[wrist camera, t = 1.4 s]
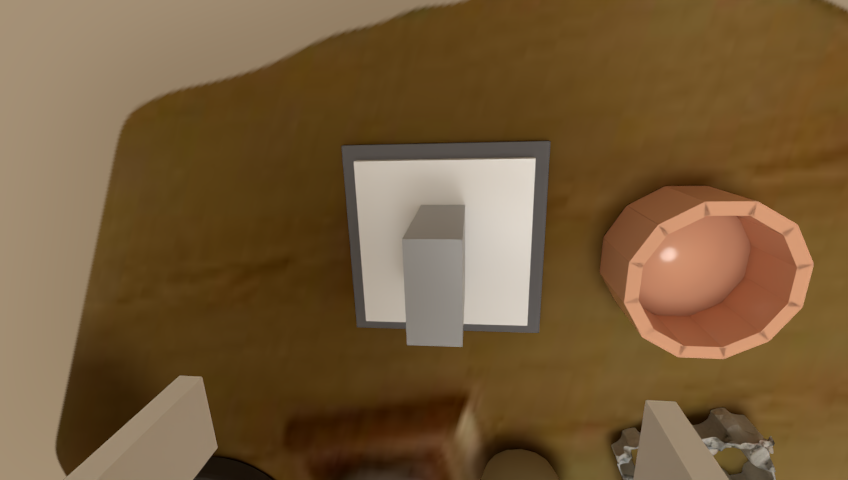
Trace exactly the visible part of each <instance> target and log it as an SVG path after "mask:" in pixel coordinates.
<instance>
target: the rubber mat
mask: <svg viewBox="0 0 848 480" xmlns="http://www.w3.org/2000/svg"><path fill="white" fill-rule="evenodd" d="M518 157H534V158H536V162H535V182H534V202H533V222H532V242H531V262H530V282H529V301H528V321H527V326H517V325H482V324H464V325H463V331H495V332H527V333H539V324H540V307H541V290H542V274H543V257H544V240H545V224H546V207H547V190H548V174H549V157H550V141H513V142H467V143H422V144H376V145H343V146H342V158H343V170H344V181H345V193H346V205H347V216H348V228H349V240H350V251H351V263H352V274H353V286H354V298H355V309H356V321H357V327H364V328H397V329H406V322H378V321H366V314H365V302H364V289H363V276H362V263H361V250H360V238H359V225H358V212H357V199H356V187H355V174H354V161H356V160H403V159H460V158H518Z"/></svg>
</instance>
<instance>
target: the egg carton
mask: <svg viewBox="0 0 848 480" xmlns="http://www.w3.org/2000/svg"><path fill="white" fill-rule="evenodd" d="M692 426H693V428H694V429H695V431H696V432H697V434H698V435H699V436H700V438H701V439H702V441H703V442H704V444H705V445H706V447H707V448H708V450H709V451H710V453H711V454H712V455H715V454H716V453H717V452H718V450H719V451H723V449H724V448H726V447H735V448H739V449H741V451H742V452H743V453H744V454H745V456H746V457H747V458H748V460H749V461H747V462H746V463H745V464H744V466H743V468H742V473H739V474H734V475H729V474H728V473H727V471H725V470H724V469H722V468H721V469H722V470H723V471H724V473H725V474H726V476H727V477H728V479H729V480H776V479H775V474H774V472H776V471H775V468H774V466H773V463H772V461H771V459H770V456H769V452H770V453H772V454H773V446H774V444H775V443H774V441H773V439H772V438H771V436H770V437H769V439H768V440H767V439H764V438H763V436H762V435H761V434H760V433H759V432H758V431H757V429H756V428H755V427H754V426H753V425H752V423H751V422H750V421H749V420H748V419H747V418H746V417H745V415H737V414H732V413H730V412H728V411H727V410H726V408H717V409H713V410H711V411H710V415H709V417H708V419H707V420H705V421H704V422H702V423H700V424H697V425H692ZM640 434H641V433H640V432H638V431H637V429H636V428H635V427H634V428H629V429H625V430H623V431H622V436H621V438H620V439H619V440H618V441H617V442H615V443H613V444H612V445H611V447H612V450H613V452H614V454H615V456H616V459H617V461H618V463H617V465H618V468H619V471H620V473H621V475H622V479H623V480H634V479H633V478H634V472H635V466H634V464H633V462H632V460H631V458H633V457H632V454H631V450H632V449H637V448H638V446H639V440H640Z"/></svg>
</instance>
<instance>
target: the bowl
mask: <svg viewBox="0 0 848 480" xmlns="http://www.w3.org/2000/svg"><path fill="white" fill-rule="evenodd" d="M813 266H814V263H813V261H812V258H811V256H810V253H809V251H808V248H807V246H806V244H805V241H804V239H803V236H802V234H801V231H800V229H799V226H798V225H797V224H796V223H794V222H792V221H790V220H789V219H787V218H785V217H784V216H782V215H780V214H778V213H777V212H775V211H773V210H772V209H770V208H768V207H766V206H765V205H763V204H761V203H760V202H758V201H755V200H752V199H748V198H745V197H742V196H739V195H736V194H732V193H729V192H726V191H723V190H720V189H716V188H713V187H710V186H664V187H662V188H660V189H658V190H656V191H654V192H652V193H650V194H648V195H646V196H644V197H643V198H641V199H639V200H637V201H635V202H633V203H631V204H629V205H627V206H626V207H625V209H624V210H623V211H622V213H621V214H620V215H619V217H618V218H617V219H616V221H615V222H614V224H613V225H612V226H611V228H610V229H609V230H608V232H607V233H606V234H605V236H604V238H603V245H602V255H601V264H600V274H601V276H602V278H603V280H604V281H605V283H606V285H607V287H608V289H609V291H610V293H611V294H612V296H613V298H614V300H615V302H616V303H617V304H618V306H619V307H620V308H621V310H622V311H623V312H624V314H625V315H626V316H627V318H628V319H629V320H630V322H631V323H632V324H633V326H634V327H635V328H636V330H637V331H638V332H639V334H640V335H641V336H642V337H643V338H644V339H646V340H648V341H650V342H652V343H654V344H655V345H657V346H659V347H661V348H663V349H664V350H666V351H668V352H670V353H672V354H673V355H675V356H677V357H687V358H714V359H725V358H727V357H730V356H732V355H735V354H738V353H740V352H743V351H745V350H748V349H750V348H753V347H755V346H758V345H761V344H763V343H766V342H768V341H770V340H771V339H772V338H773V337H774V336H775V335H776V334H777V333H778V332H779V331H780V330H781V329H782V328H783V326H784V325H785V324H786V323H787V322H788V321H789V320H790V319H791V318H792V317H793V316H794V315H795V314H796V313H797V312H798V311H799V310H800V309H801V308H802V307H803V304H804V300H805V296H806V292H807V289H808V285H809V281H810V277H811V274H812V270H813Z"/></svg>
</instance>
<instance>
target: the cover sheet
mask: <svg viewBox="0 0 848 480" xmlns="http://www.w3.org/2000/svg"><path fill="white" fill-rule="evenodd" d="M535 162H536V158H534V157H518V158H460V159H403V160H356V161H354V174H355V187H356V199H357V212H358V225H359V238H360V250H361V263H362V276H363V289H364V302H365V314H366V321H378V322H406V334H407V345H420V346H449V347H463V325H464V324H482V325H517V326H527V321H528V301H529V282H530V262H531V242H532V222H533V202H534V182H535Z"/></svg>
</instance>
